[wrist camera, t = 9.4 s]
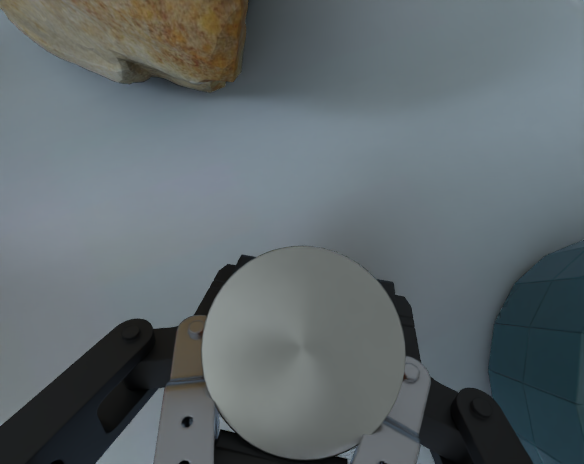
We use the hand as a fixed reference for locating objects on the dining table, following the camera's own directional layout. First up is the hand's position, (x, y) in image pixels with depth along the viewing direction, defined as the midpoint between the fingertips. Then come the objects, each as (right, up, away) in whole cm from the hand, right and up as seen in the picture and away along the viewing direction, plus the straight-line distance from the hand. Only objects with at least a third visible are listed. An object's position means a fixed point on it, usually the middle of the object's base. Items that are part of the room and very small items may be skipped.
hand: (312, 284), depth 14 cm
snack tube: (0, -3, +4) cm, 5 cm away
